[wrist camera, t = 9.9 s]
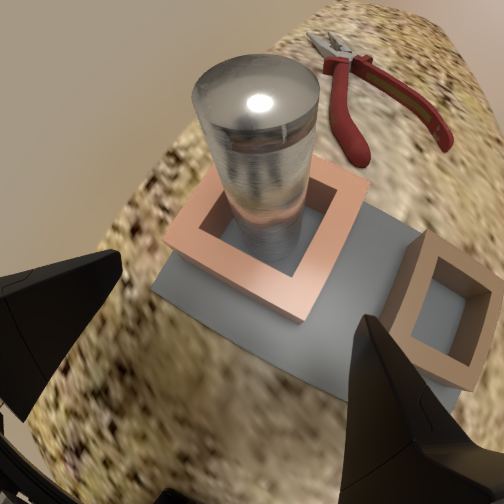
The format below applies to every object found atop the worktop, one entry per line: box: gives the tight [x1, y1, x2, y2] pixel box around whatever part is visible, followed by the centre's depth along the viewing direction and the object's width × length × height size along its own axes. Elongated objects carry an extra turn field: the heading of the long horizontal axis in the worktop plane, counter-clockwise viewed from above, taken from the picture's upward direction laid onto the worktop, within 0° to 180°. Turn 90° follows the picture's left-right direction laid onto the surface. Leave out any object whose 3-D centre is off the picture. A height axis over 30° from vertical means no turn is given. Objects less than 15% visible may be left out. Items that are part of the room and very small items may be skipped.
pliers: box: [307, 32, 454, 167], centre depth 22 cm, size 12×20×3 cm, turn 15°
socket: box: [161, 154, 371, 325], centre depth 16 cm, size 8×8×4 cm
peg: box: [192, 54, 320, 261], centre depth 12 cm, size 4×4×12 cm
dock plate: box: [150, 201, 504, 414], centre depth 15 cm, size 12×22×4 cm, turn 60°
